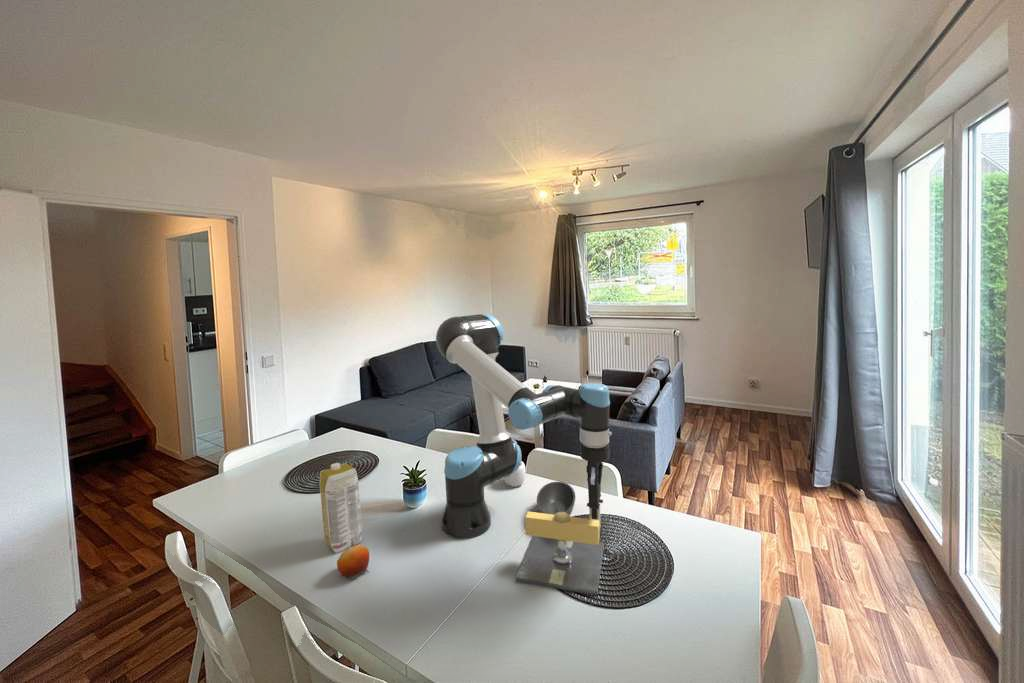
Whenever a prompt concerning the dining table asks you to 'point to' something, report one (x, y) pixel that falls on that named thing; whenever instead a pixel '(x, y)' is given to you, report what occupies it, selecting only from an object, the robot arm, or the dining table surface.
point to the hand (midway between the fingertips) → (594, 527)
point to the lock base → (562, 565)
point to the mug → (516, 477)
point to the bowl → (556, 498)
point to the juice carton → (340, 506)
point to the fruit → (353, 561)
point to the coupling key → (562, 527)
